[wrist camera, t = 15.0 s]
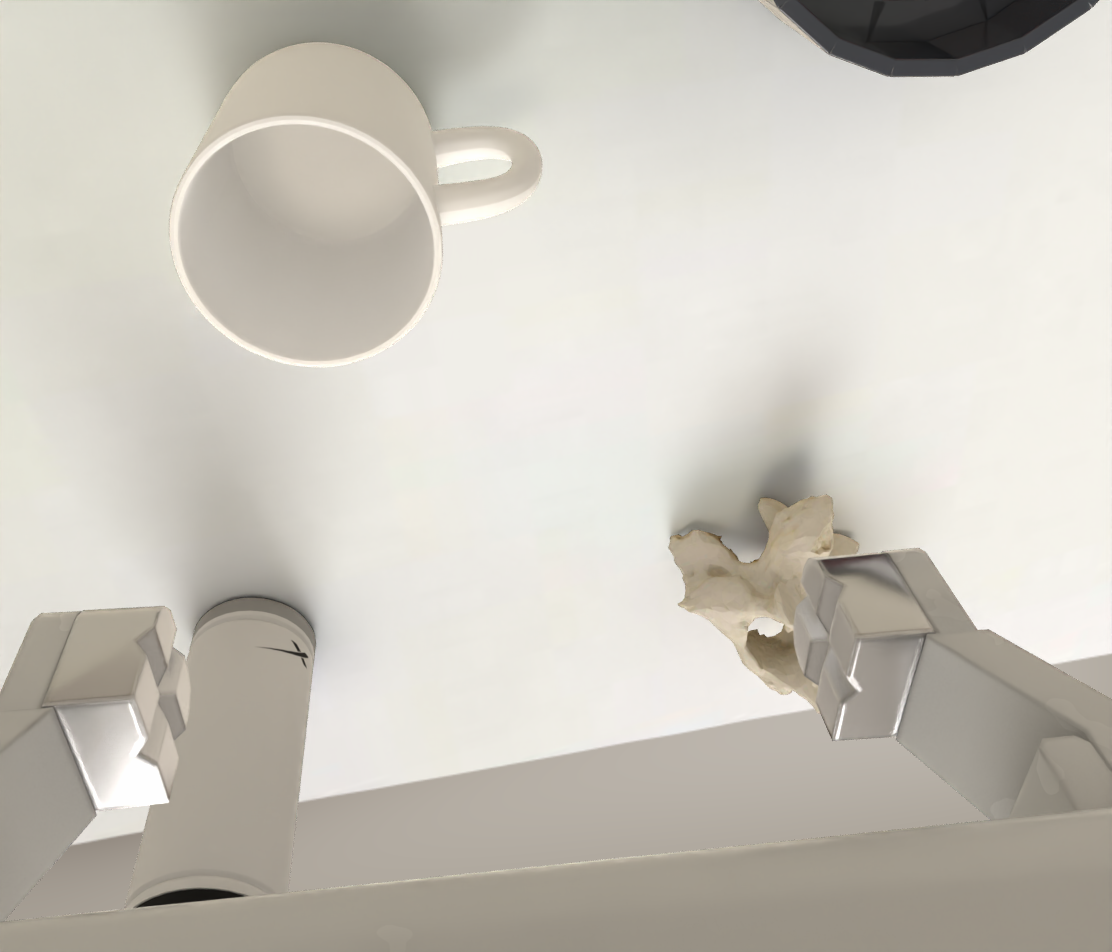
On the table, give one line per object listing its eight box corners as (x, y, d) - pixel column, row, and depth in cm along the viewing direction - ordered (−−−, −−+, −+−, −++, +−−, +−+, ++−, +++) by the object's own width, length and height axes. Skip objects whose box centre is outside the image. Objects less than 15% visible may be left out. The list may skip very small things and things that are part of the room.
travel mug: (316, 590, 53) (272, 963, 36) (316, 681, 56) (276, 1056, 40) (189, 588, 51) (85, 970, 35) (197, 680, 55) (108, 1065, 39)
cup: (188, 57, 37) (126, 141, 29) (510, 2, 38) (538, 69, 29) (257, 265, 42) (220, 388, 34) (542, 215, 42) (574, 325, 34)
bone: (780, 441, 52) (851, 518, 45) (911, 595, 58) (991, 683, 51) (647, 553, 53) (696, 644, 46) (789, 690, 60) (851, 789, 53)
